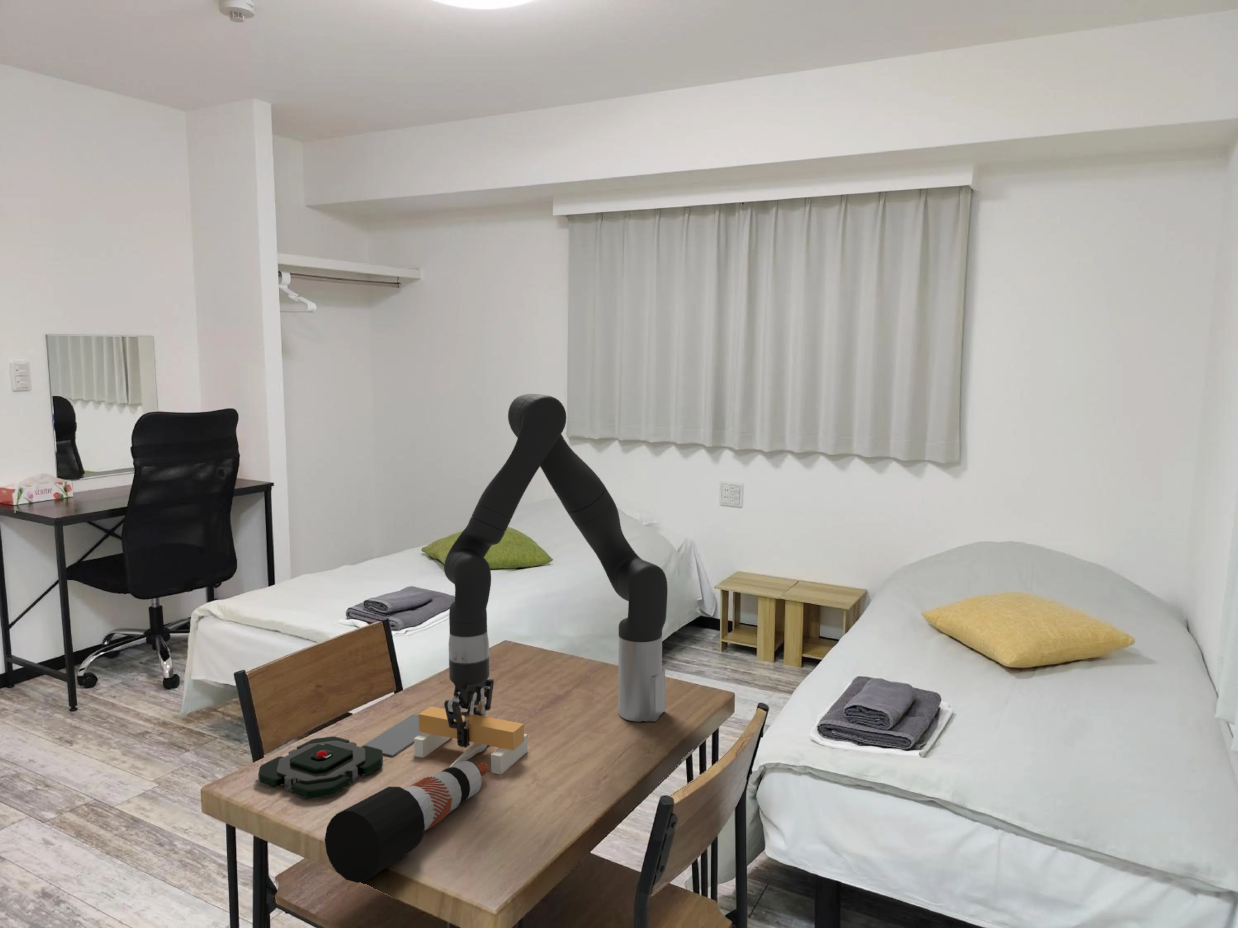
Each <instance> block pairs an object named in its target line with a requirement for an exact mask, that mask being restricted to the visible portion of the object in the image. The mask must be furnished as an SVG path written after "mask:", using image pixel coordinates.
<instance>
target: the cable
mask: <svg viewBox="0 0 1238 928" xmlns="http://www.w3.org/2000/svg"><path fill="white" fill-rule="evenodd" d="M450 766H451V765H450ZM450 766H449V767H446V768H445V769H443V770H441V771H438V772H436V773H434V774H433V775H431V776H427V777H424V778H422V779H420V780H418V781H416V782H414V783H413V784H411V785H409V786H407V787H405V788H403V787H401V786H387V787H385V788H384V789H381V790H379V791H378V792H376V793H374V794H372V795H370V796H368V797H366V798H364V799H363V800H360V801H358V802H356V803H354V804H352V805H351V806H349V807H347V808H345V809H343V810H341V811H339V812H337V813H335V815H333V816H332V818H331V819H330V820H329V823H328V824H327V826H326V830H325V835H324V844H325V852H326V856H327V857H328V858H327V859H328V860H329V863H330V864H331V866H332V867H333V869H334V870H335V872H336V873H337V874H339V875H340V876H341V877H342V878H343V879H344V880H346V881H350V882H353V883H355V884H356V883H364V882H366V881H367V880H369V879H371V878H372V877H374V876H376V875H377V874H378V873H380V872H381V871H383V870H384V869H387V868H388V867H390V866H391V865H392V864H394V863H395V862H397V861H398V860H400V859H402V858H403V857H405V856H406V855H408V854H409V853H410V852H412V851H413V850H415V849H416V848H417V847H418V846H419V845H420V843H421V842H422V840H423V837H424V833H425V831H427V830H429V829H431V828H433V827H434V826H436V825H437V824H439V823H440V822H441V821H442V820H444V818H445V817H446V816H447V815H448V814H450V813H451V812H452V811H454V810H455V809H457V807H458V806H460V805H462V804H463V803H465V802H466V801H467V800H468V799H470V798H471V797H473V796H475V795H476V794H477V793H478V792H479V791H480V790H481V787H482V778H483V777H484V776H485V775H486V774H487V773H489V771H490V769H489V764H488V763H485V762H484V761H482V762H480V763H479V764H477V765H475V764H474V763H473V762H470V761H468V760H466V761H461V762H459V763H457V764H455V765H453V766H451V767H450Z"/></svg>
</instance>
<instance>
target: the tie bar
mask: <svg viewBox="0 0 1238 928" xmlns="http://www.w3.org/2000/svg"><path fill="white" fill-rule="evenodd" d="M418 716H419V731H420V732H425V733H430V734H435V735H440V736H445V737H449V738H450V739H454V740H457V729H455V728H450V727H449V724H448V719H447V715H446V711H445V708H443V707H436V706H429V707H428V708H426V709H424V710H422V711H421V712H420V713H418ZM464 718H465V717H464V716H462V720H463V722H464ZM454 721H455V719H454ZM468 728H469V743H473V742H474V743H479V744H484V745H488V746H490V747H495V748H504V749H509V750H515V749H516V748H517V747H518V746H520V745H521V744H522V743H523V742H524V734H525V724H524V723H522V722H515V721H512V720H511V721H510V720H506V719H501V718H500V719H499V718H494V717H490V716H486V715H485V716H479V715H474V714H473V715H472V716H471V717H470V722H469V727H468Z"/></svg>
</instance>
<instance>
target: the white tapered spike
mask: <svg viewBox="0 0 1238 928" xmlns="http://www.w3.org/2000/svg"><path fill="white" fill-rule="evenodd" d="M470 744H471V745H469V746H468V747H467V749H465V751H463V753H462V754H461V755H460V756H458V757H457V758H456V760H454V761H453V762H452V763H451V764H450V765H449V767H451V766H453V765H455V764H457V763H459V762H461V761H468V760H469V759H471V758H473V757H474V756H475V755H476V754H478V753H481V752H484V751H485V750H486V749H487V748H488V746H489V745H484V744H479V743H474V742H471V743H470Z"/></svg>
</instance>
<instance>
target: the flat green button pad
mask: <svg viewBox="0 0 1238 928" xmlns="http://www.w3.org/2000/svg"><path fill="white" fill-rule="evenodd" d="M383 765H384V755H383V753H382V750H381V749H377V748H374V747H370V746H367V745H365V746H363V745H362V747H361V746H359V745H357V743H356V742H354V741H350V739H346V738H342V737H338V736H336V735H335V736H334V735H333V736H325V737H316V738H312V739H310V740H308V741H306V742H304V743H302V744H300V745H298V746H296V748H294V749H292V750H290V751H288V755H285V756H280V755H279V756H276V757H274V758H273V759H270V760H269V761H266V762H265V763H262V764H261V765H260V766H259V768H258V773H257V777H258V778H257V779H258V780H257V781H258V783H260V784H263V785H266V786H270V787H271V788H272V787H273V788H278V787H280V786H284V790H286V791H289V792H291V794H294V795H295V796H299V797H302V798H305V799H316V798H317V799H318V798H323V797H329V796H333V795H335V794H337V793H339V792H341V791H342V790H344V789H346V788H347V787H349V786H350V785H351V783H353V782H355V781H357V780H358V779H359V775H363V776H366V775H369V774H371V773H372V772H374V771H376V770H378V769H380V768H381V767H382V766H383Z"/></svg>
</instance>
